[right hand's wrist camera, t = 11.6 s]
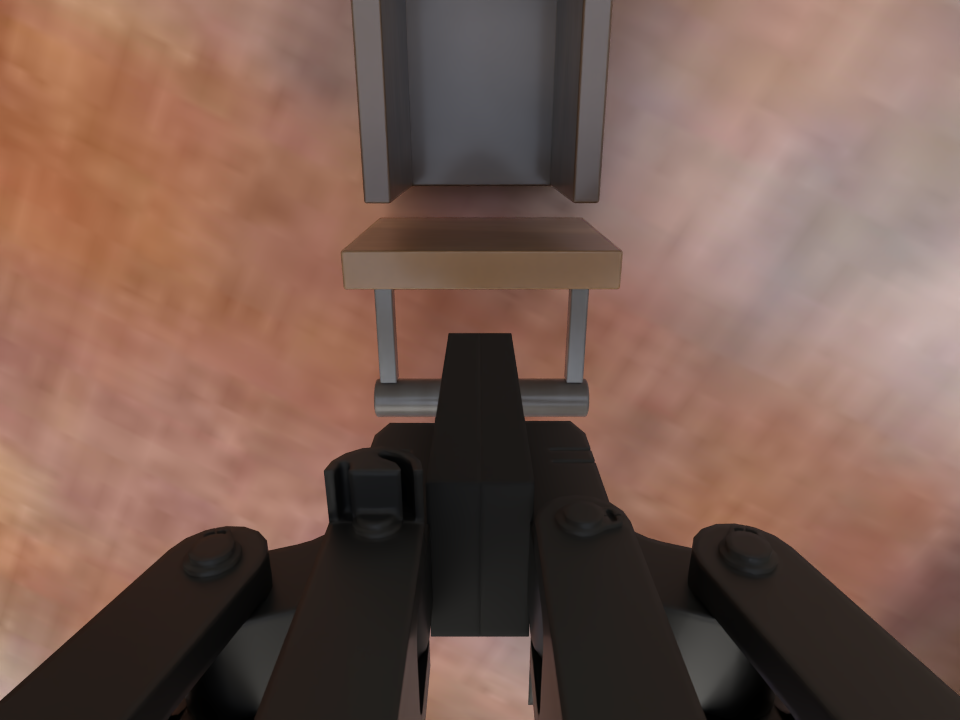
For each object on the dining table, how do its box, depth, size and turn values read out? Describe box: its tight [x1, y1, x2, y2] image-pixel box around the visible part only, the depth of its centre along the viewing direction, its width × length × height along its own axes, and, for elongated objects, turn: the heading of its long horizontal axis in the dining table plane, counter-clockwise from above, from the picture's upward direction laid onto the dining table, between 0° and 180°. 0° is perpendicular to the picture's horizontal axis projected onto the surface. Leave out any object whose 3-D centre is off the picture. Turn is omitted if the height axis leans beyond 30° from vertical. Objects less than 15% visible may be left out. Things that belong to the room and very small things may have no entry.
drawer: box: [341, 0, 623, 417], centre depth 20 cm, size 25×8×8 cm, turn 0°
